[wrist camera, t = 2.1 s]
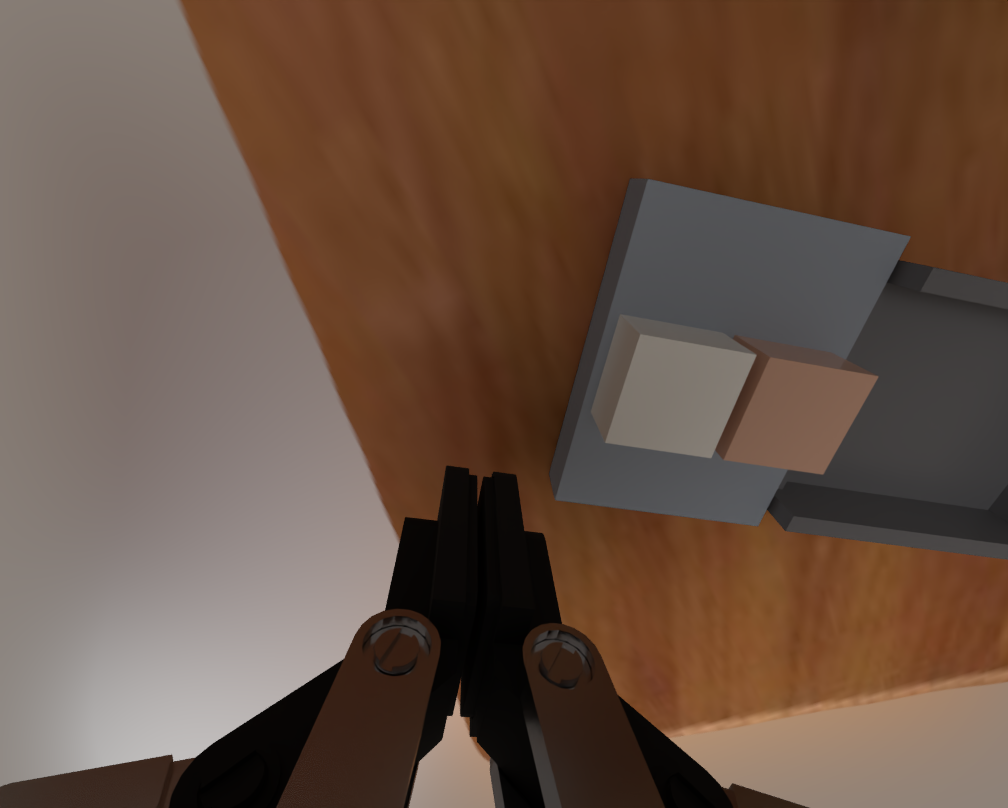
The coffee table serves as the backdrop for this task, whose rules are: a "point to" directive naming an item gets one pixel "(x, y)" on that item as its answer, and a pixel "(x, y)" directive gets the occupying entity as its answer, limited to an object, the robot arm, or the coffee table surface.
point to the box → (920, 424)
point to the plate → (717, 307)
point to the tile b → (793, 407)
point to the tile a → (669, 386)
